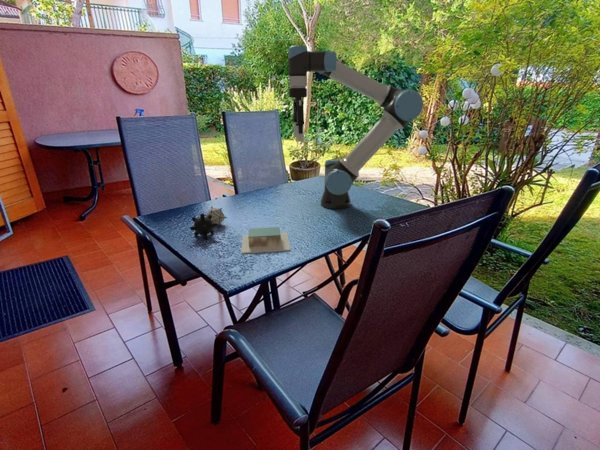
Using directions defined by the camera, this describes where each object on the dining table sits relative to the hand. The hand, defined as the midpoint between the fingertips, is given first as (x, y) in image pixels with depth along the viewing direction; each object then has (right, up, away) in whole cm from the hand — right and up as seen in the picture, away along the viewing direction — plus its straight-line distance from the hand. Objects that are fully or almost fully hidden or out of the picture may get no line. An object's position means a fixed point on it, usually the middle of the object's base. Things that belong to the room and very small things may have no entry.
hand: (298, 139), depth 150 cm
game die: (-36, -38, 0) cm, 53 cm away
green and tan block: (-7, -42, -19) cm, 47 cm away
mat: (-13, -45, -18) cm, 50 cm away
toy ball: (-39, -43, -12) cm, 59 cm away
